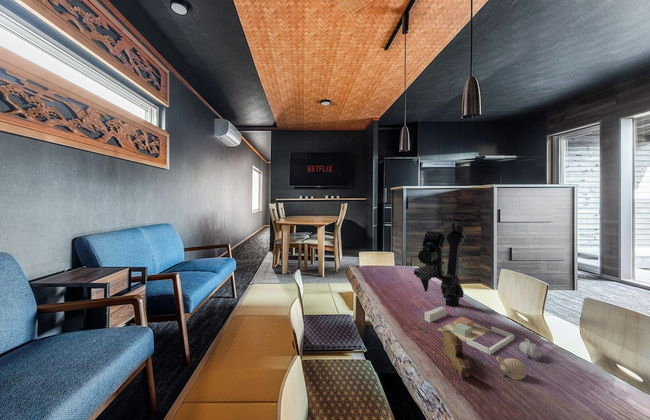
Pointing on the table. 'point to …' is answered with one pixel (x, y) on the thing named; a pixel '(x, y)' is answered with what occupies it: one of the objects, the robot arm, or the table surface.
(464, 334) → the tile
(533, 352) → the garlic
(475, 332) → the board
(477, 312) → the table surface
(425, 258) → the robot arm
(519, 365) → the decorative ornament
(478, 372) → the table surface
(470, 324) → the tile
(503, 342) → the tray
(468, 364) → the wooden carving
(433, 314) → the long grey plank
